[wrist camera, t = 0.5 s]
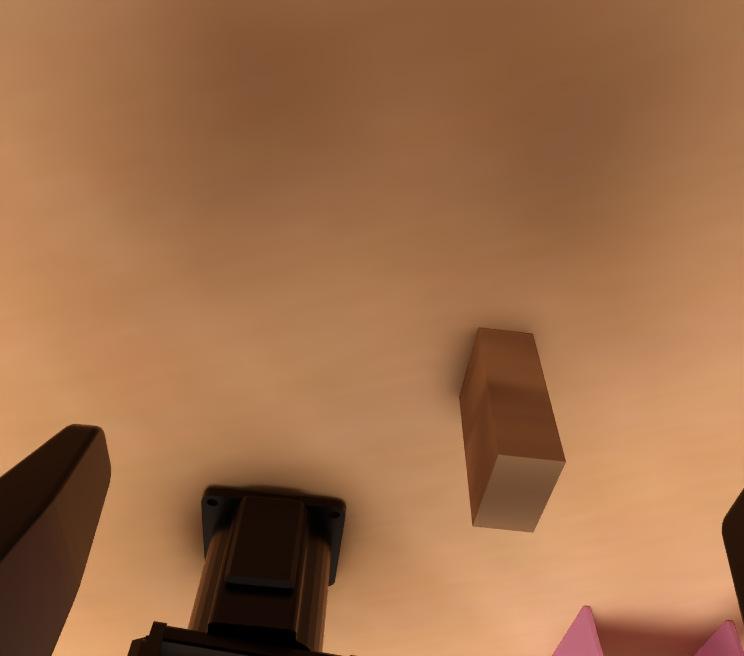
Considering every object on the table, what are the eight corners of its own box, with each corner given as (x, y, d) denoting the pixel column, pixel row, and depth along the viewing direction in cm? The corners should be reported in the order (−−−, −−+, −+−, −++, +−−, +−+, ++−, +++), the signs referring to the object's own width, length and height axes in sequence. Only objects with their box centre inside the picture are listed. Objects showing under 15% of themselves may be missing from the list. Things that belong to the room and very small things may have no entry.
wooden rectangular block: (508, 402, 26) (533, 532, 21) (459, 396, 26) (472, 526, 21) (532, 334, 24) (565, 461, 19) (478, 327, 24) (498, 454, 19)
